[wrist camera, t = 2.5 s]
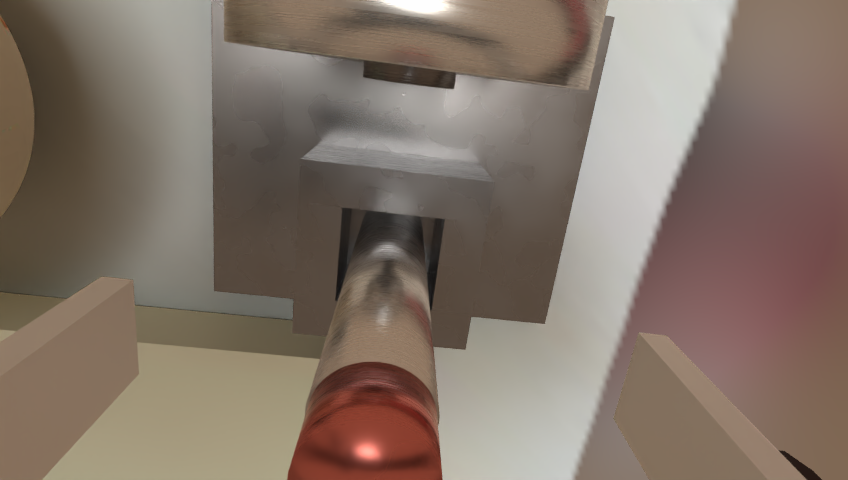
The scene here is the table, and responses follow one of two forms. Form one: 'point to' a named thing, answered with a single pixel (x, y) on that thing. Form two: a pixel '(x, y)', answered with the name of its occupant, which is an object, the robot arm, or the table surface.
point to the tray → (194, 397)
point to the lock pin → (376, 367)
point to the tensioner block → (401, 145)
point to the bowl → (13, 118)
